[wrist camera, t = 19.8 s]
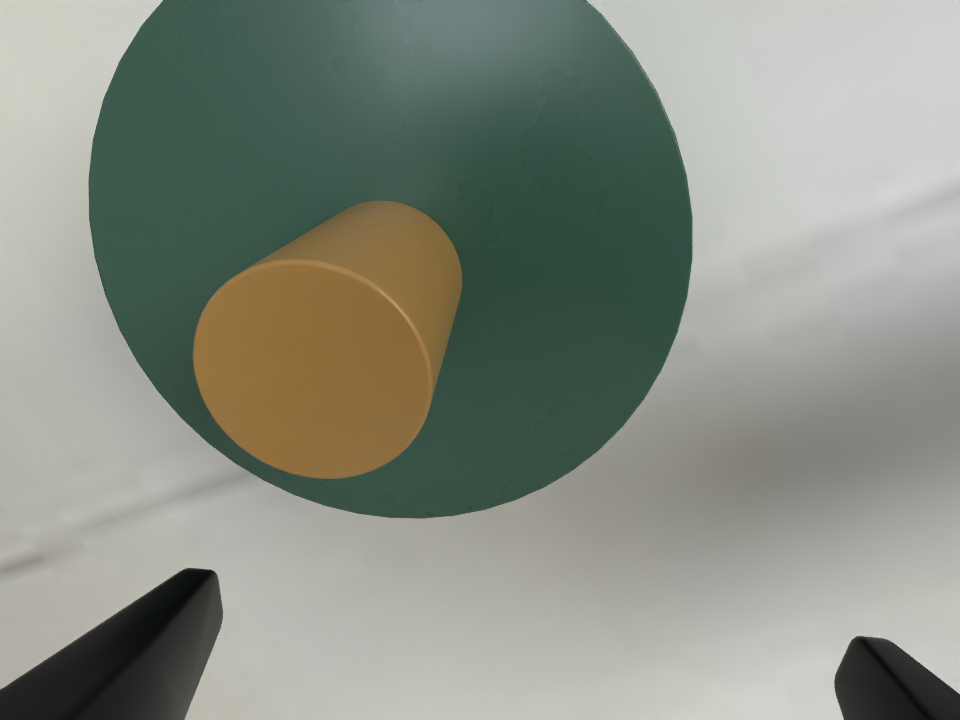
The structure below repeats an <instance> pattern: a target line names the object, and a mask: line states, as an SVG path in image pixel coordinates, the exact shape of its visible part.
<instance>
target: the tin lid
mask: <svg viewBox="0 0 960 720" xmlns="http://www.w3.org/2000/svg"><path fill="white" fill-rule="evenodd" d="M89 220H90V227H91V233H92V240H93V247H94V253H95V259H96V263H97V266H98V270H99V273H100V277H101V281H102V284H103V288H104V291H105V295H106V297H107V300H108V302H109V305H110V307H111V310H112V312H113V314H114V317H115V319H116V322H117V324H118V327H119V329H120V331H121V333H122V335H123V337H124V338H125V340H126V342H127V344H128V346H129V347H130V349H131V351H132V353H133V355H134V357H135V358H136V360H137V362H138V363H139V365H140V366H141V368H142V369H143V371H144V372H145V373H146V375H147V376H148V378H149V379H150V381H151V382H152V383H153V385H154V386H155V388H156V389H157V390H158V392H159V393H160V394H161V395H162V397H163V398H164V399H165V400H166V401H167V402H168V403H169V404H170V406H171V407H172V408H173V409H174V410H175V411H176V412H177V414H178V415H179V416H180V417H181V418H182V419H183V420H184V421H185V422H186V423H187V424H188V425H189V426H190V427H191V428H193V429H194V430H195V431H196V432H197V433H198V434H199V435H200V436H201V437H202V438H203V439H204V440H206V441H207V442H208V443H209V444H210V445H212V446H213V447H214V448H216V449H217V450H218V451H220V452H221V453H222V454H224V455H225V456H226V457H228V458H229V459H230V460H232V461H233V462H234V463H236V464H237V465H239V466H241V467H242V468H244V469H246V470H247V471H249V472H251V473H252V474H254V475H256V476H257V477H259V478H261V479H262V480H264V481H266V482H268V483H270V484H272V485H275V486H277V487H279V488H281V489H283V490H285V491H287V492H289V493H292V494H294V495H296V496H299V497H302V498H305V499H308V500H310V501H313V502H316V503H319V504H322V505H325V506H328V507H333V508H337V509H341V510H345V511H349V512H354V513H358V514H366V515H373V516H381V517H389V518H433V517H445V516H455V515H460V514H465V513H470V512H475V511H481V510H485V509H489V508H492V507H495V506H498V505H501V504H504V503H508V502H511V501H514V500H517V499H519V498H521V497H523V496H526V495H528V494H530V493H532V492H535V491H537V490H539V489H541V488H543V487H546V486H547V485H549V484H551V483H552V482H554V481H556V480H557V479H559V478H561V477H562V476H564V475H566V474H567V473H569V472H571V471H572V470H574V469H575V468H576V467H578V466H579V465H580V464H581V463H583V462H584V461H585V460H587V459H588V458H589V457H591V456H592V455H593V454H594V453H596V452H597V451H598V450H599V449H600V448H601V447H602V446H603V445H604V444H605V443H606V442H607V441H608V440H610V439H611V438H612V437H613V436H614V435H615V434H616V433H617V432H618V431H619V430H620V429H621V428H622V427H623V425H624V424H625V423H626V422H627V420H628V419H629V418H630V416H631V415H632V414H633V413H634V411H635V410H636V409H637V407H638V406H639V405H640V404H641V402H642V401H643V400H644V398H645V397H646V395H647V393H648V392H649V390H650V388H651V386H652V385H653V383H654V381H655V380H656V378H657V376H658V375H659V373H660V371H661V369H662V368H663V365H664V363H665V361H666V358H667V356H668V354H669V351H670V349H671V347H672V344H673V342H674V340H675V337H676V335H677V332H678V328H679V325H680V321H681V317H682V314H683V310H684V306H685V303H686V299H687V294H688V286H689V279H690V272H691V264H692V211H691V204H690V196H689V189H688V182H687V175H686V171H685V168H684V164H683V161H682V157H681V153H680V150H679V146H678V143H677V139H676V136H675V132H674V130H673V128H672V125H671V123H670V121H669V119H668V116H667V114H666V112H665V109H664V107H663V105H662V102H661V100H660V98H659V96H658V93H657V91H656V89H655V88H654V86H653V85H652V83H651V81H650V80H649V78H648V76H647V75H646V73H645V72H644V70H643V68H642V67H641V65H640V63H639V62H638V60H637V58H636V57H635V55H634V54H633V52H632V51H631V49H630V48H629V47H628V46H627V45H626V43H625V42H624V41H623V40H622V39H621V37H620V36H619V35H618V34H617V32H616V31H615V30H614V29H613V28H612V26H611V25H610V24H609V23H608V22H607V20H606V19H605V18H604V17H603V16H602V14H601V13H599V12H598V11H597V10H596V9H595V8H594V7H593V6H592V5H591V4H589V3H588V2H587V1H586V0H163V1H162V3H161V4H160V5H159V6H158V7H157V8H156V10H155V11H154V12H153V13H152V14H151V15H150V16H149V18H148V19H147V20H146V21H145V22H144V23H143V25H142V26H141V28H140V29H139V31H138V33H137V34H136V36H135V37H134V39H133V41H132V42H131V44H130V45H129V47H128V49H127V50H126V52H125V54H124V55H123V57H122V58H121V60H120V62H119V64H118V67H117V69H116V71H115V74H114V76H113V78H112V81H111V83H110V85H109V88H108V90H107V92H106V95H105V97H104V100H103V103H102V107H101V111H100V115H99V119H98V123H97V126H96V130H95V134H94V138H93V145H92V154H91V163H90V171H89Z"/></svg>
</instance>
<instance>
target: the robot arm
mask: <svg viewBox="0 0 960 720" xmlns="http://www.w3.org/2000/svg"><path fill="white" fill-rule="evenodd" d="M222 619H223V608H222V601H221V594H220V587H219V580H218V576H217V574H216V573H215V572H214V571H212V570H207V569H197V568H186V569H184V570H182V571H180V572H178V573H177V574H175V575H174V576H172V577H171V578H169V579H168V580H166V581H165V582H163V583H162V584H160V585H159V586H157V587H156V588H154V589H153V590H151V591H150V592H148V593H147V594H145V595H144V596H142V597H141V598H139V599H137V600H136V601H134V602H133V603H131V604H130V605H128V606H127V607H125V608H124V609H122V610H121V611H119V612H118V613H116V614H115V615H113V616H112V617H110V618H109V619H107V620H106V621H104V622H103V623H101V624H100V625H98V626H97V627H95V628H94V629H92V630H91V631H89V632H87V633H86V634H84V635H83V636H81V637H80V638H78V639H77V640H75V641H74V642H72V643H71V644H69V645H68V646H66V647H65V648H63V649H62V650H60V651H59V652H57V653H56V654H54V655H53V656H51V657H50V658H48V659H47V660H45V661H44V662H42V663H40V664H39V665H37V666H36V667H34V668H33V669H31V670H30V671H28V672H27V673H25V674H24V675H22V676H21V677H19V678H18V679H16V680H15V681H13V682H12V683H10V684H9V685H7V686H6V687H4V688H3V689H1V690H0V720H184V719H185V716H186V714H187V711H188V709H189V706H190V704H191V701H192V699H193V696H194V694H195V691H196V689H197V686H198V684H199V681H200V679H201V676H202V674H203V671H204V669H205V666H206V664H207V661H208V659H209V656H210V654H211V651H212V649H213V646H214V643H215V641H216V638H217V636H218V633H219V631H220V628H221V624H222ZM834 683H835V692H836V696H837V699H838V703H839V706H840V709H841V712H842V715H843V718H844V720H960V694H959V693H957V692H956V691H955V690H954V689H952V688H951V687H950V686H948V685H947V684H946V683H945V682H943V681H942V680H941V679H939V678H938V677H937V676H935V675H934V674H933V673H932V672H930V671H929V670H928V669H926V668H925V667H924V666H923V665H921V664H920V663H919V662H917V661H916V660H915V659H914V658H912V657H911V656H910V655H908V654H907V653H906V652H904V651H903V650H902V649H901V648H899V647H898V646H897V645H895V644H894V643H893V642H891V641H889V640H886V639H883V638H874V637H864V636H858V637H855V638H854V639H853V640H852V641H851V642H850V644H849V646H848V648H847V651H846V653H845V655H844V657H843V659H842V662H841V664H840V666H839V668H838V670H837V672H836V675H835V681H834Z"/></svg>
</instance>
